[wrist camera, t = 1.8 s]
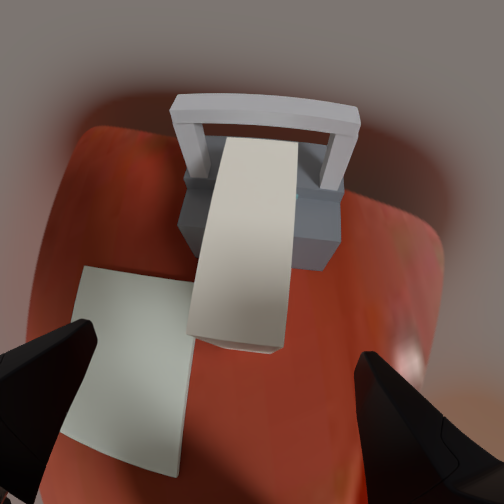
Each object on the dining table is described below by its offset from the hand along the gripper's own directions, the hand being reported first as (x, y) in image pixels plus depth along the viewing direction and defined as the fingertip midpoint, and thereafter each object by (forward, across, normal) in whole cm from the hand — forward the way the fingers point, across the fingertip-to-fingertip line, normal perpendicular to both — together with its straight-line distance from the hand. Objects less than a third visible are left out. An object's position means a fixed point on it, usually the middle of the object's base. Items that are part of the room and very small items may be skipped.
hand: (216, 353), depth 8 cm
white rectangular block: (+10, -1, +4) cm, 11 cm away
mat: (+5, +8, +8) cm, 13 cm away
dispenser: (+14, -1, 0) cm, 14 cm away
